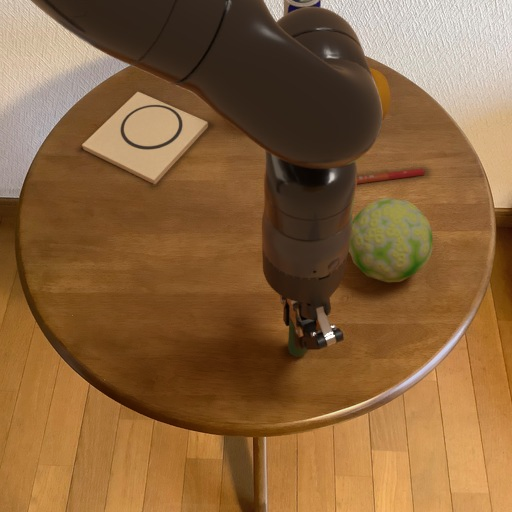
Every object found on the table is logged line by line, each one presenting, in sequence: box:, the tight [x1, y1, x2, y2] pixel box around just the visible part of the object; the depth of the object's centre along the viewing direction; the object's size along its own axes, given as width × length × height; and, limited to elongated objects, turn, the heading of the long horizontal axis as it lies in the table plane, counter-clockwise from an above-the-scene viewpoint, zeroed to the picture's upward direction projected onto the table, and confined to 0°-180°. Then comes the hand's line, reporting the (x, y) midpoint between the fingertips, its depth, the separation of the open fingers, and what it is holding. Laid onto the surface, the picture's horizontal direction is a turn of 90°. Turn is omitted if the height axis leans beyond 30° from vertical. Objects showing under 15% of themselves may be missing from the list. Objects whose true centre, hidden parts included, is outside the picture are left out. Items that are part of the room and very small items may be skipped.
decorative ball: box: [348, 197, 434, 283], centre depth 75 cm, size 10×10×10 cm
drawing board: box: [81, 91, 209, 185], centre depth 92 cm, size 13×13×1 cm
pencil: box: [357, 168, 426, 185], centre depth 86 cm, size 19×1×1 cm, turn 98°
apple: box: [369, 67, 392, 122], centre depth 89 cm, size 9×8×9 cm
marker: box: [287, 308, 308, 358], centre depth 68 cm, size 2×2×9 cm
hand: (299, 331), depth 68 cm, fingers closed on marker, 2 cm apart
